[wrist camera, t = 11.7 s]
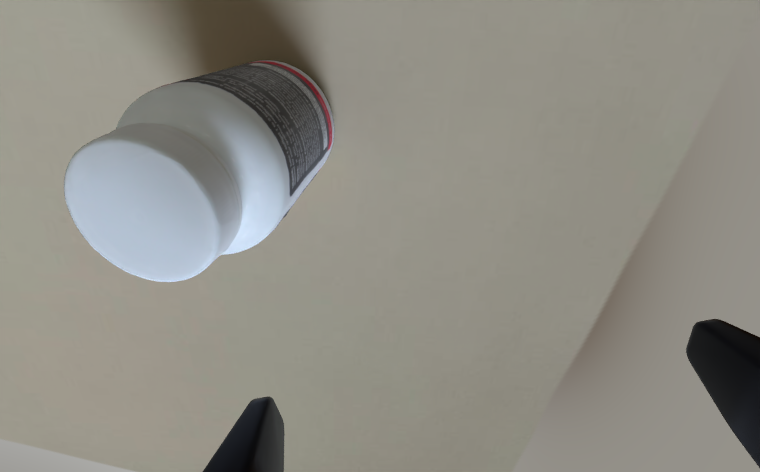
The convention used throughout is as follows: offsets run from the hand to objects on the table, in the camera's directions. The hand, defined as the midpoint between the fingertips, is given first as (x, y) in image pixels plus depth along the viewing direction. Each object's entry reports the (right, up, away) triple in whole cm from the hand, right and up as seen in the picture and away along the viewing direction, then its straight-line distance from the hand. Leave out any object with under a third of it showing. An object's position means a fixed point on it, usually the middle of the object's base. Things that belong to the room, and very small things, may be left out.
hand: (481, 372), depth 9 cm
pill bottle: (-7, +8, +10) cm, 14 cm away
